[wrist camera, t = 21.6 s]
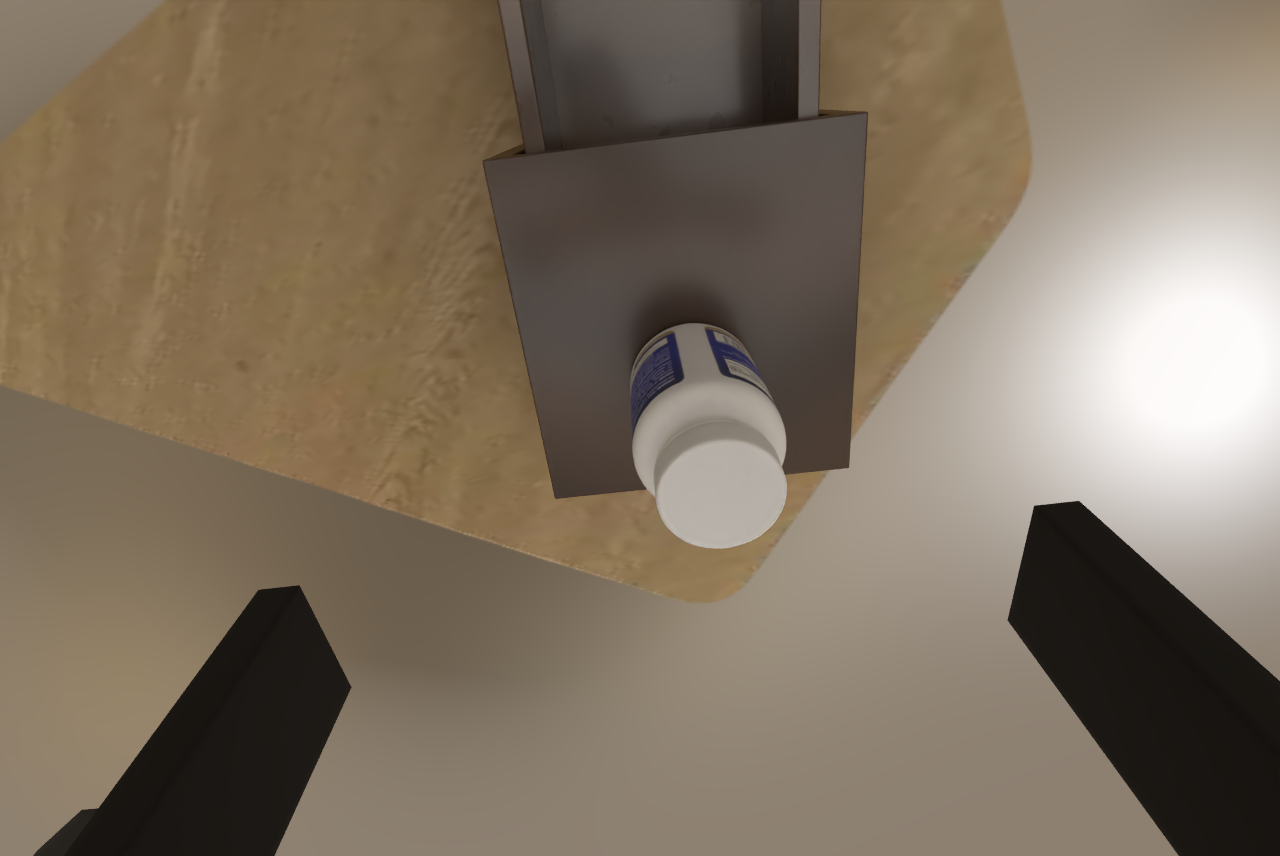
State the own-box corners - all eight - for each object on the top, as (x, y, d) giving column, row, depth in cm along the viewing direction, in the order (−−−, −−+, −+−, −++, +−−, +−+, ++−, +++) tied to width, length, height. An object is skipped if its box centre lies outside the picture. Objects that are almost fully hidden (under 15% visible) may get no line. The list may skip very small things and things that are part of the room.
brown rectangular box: (522, 143, 31) (481, 160, 22) (799, 108, 30) (868, 111, 22) (571, 408, 38) (554, 499, 29) (797, 382, 37) (849, 468, 29)
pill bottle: (642, 442, 28) (647, 577, 20) (619, 332, 25) (616, 437, 17) (759, 423, 27) (812, 552, 20) (748, 309, 25) (804, 405, 17)
